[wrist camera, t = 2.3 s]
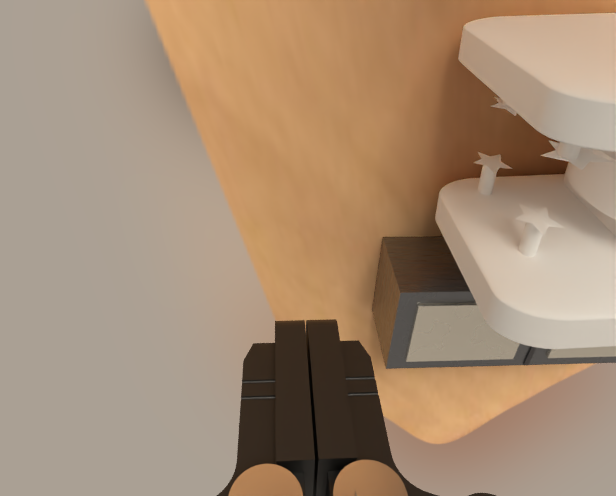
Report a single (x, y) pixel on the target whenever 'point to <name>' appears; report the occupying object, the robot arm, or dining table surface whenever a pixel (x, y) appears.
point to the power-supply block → (445, 315)
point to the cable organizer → (543, 183)
